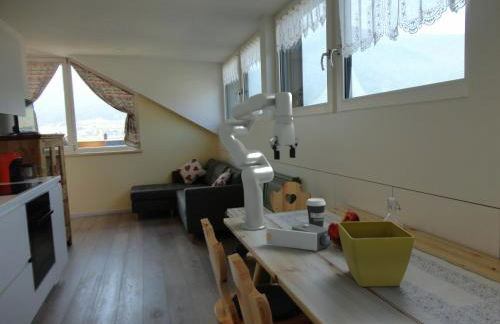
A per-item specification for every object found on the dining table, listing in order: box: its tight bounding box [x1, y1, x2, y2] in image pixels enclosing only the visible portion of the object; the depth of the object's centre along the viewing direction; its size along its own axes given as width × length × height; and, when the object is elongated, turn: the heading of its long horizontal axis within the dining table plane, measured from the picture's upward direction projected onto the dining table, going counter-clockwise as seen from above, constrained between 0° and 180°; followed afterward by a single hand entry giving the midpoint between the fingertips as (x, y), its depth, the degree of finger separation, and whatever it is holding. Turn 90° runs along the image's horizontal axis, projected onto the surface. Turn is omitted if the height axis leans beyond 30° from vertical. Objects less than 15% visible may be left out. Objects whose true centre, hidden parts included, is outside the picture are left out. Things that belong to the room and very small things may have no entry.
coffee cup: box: [305, 197, 327, 227], centre depth 165 cm, size 10×10×15 cm
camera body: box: [291, 222, 332, 251], centre depth 145 cm, size 16×9×8 cm, turn 38°
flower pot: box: [337, 220, 415, 288], centre depth 110 cm, size 19×19×17 cm
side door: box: [265, 227, 318, 252], centre depth 141 cm, size 22×2×7 cm, turn 63°
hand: (284, 158), depth 151 cm, fingers open, 9 cm apart
